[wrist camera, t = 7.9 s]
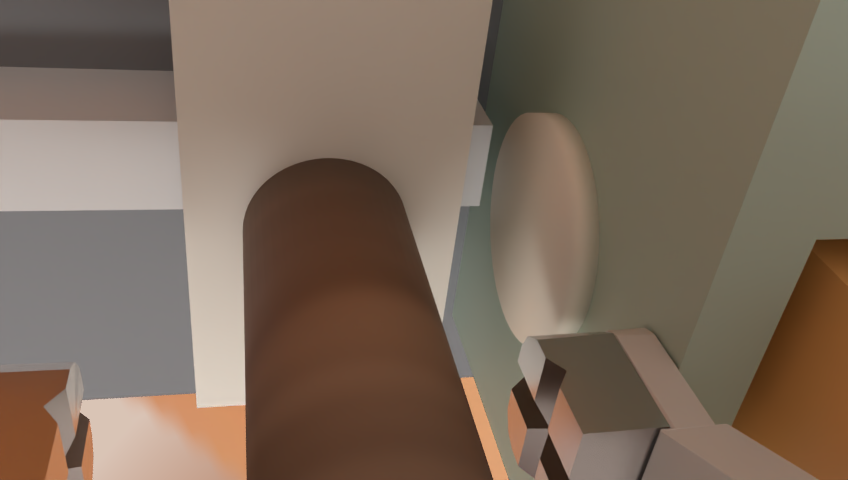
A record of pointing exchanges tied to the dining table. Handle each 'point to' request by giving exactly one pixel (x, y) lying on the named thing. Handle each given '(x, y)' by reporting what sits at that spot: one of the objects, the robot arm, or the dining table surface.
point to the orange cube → (806, 372)
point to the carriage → (329, 227)
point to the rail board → (482, 194)
